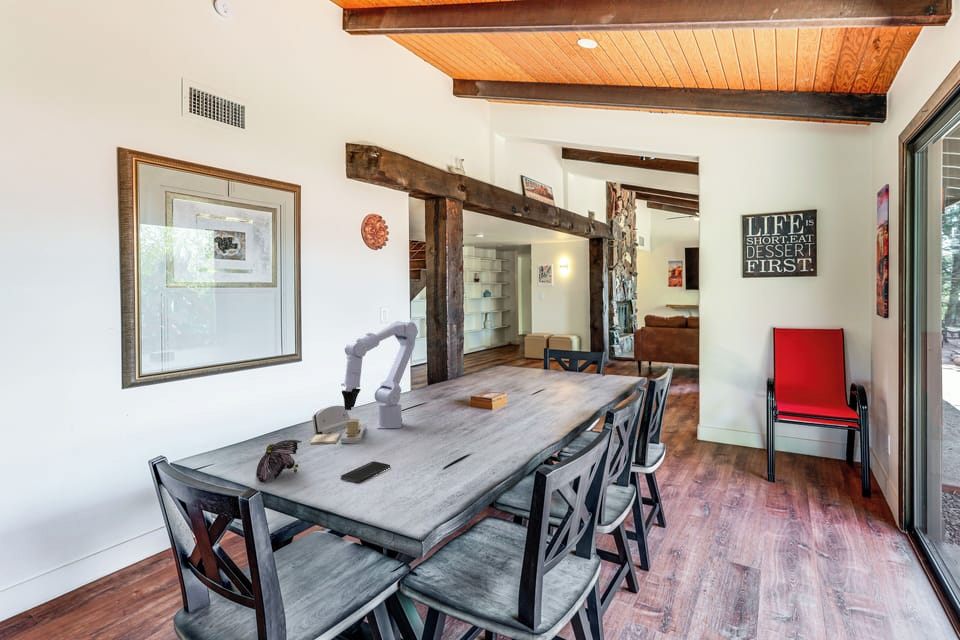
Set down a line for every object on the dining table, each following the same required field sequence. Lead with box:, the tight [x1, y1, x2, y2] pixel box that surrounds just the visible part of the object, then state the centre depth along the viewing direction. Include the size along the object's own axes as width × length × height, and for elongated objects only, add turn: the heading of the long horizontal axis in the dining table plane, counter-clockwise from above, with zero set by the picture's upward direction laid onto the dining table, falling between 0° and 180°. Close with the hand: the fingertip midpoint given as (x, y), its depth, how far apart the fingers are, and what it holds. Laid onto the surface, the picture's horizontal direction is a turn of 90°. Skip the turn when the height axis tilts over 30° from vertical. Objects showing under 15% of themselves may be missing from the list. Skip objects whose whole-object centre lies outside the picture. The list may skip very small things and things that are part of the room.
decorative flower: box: [255, 439, 303, 483], centre depth 152 cm, size 15×12×15 cm
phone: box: [340, 461, 391, 484], centre depth 153 cm, size 8×1×15 cm
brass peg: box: [346, 418, 360, 434], centre depth 189 cm, size 4×4×6 cm
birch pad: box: [310, 433, 341, 445], centre depth 186 cm, size 9×9×1 cm
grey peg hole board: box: [340, 423, 367, 444], centre depth 191 cm, size 7×18×2 cm, turn 6°
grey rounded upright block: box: [311, 405, 351, 435], centre depth 201 cm, size 17×5×10 cm, turn 149°
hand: (349, 408), depth 189 cm, fingers open, 7 cm apart
